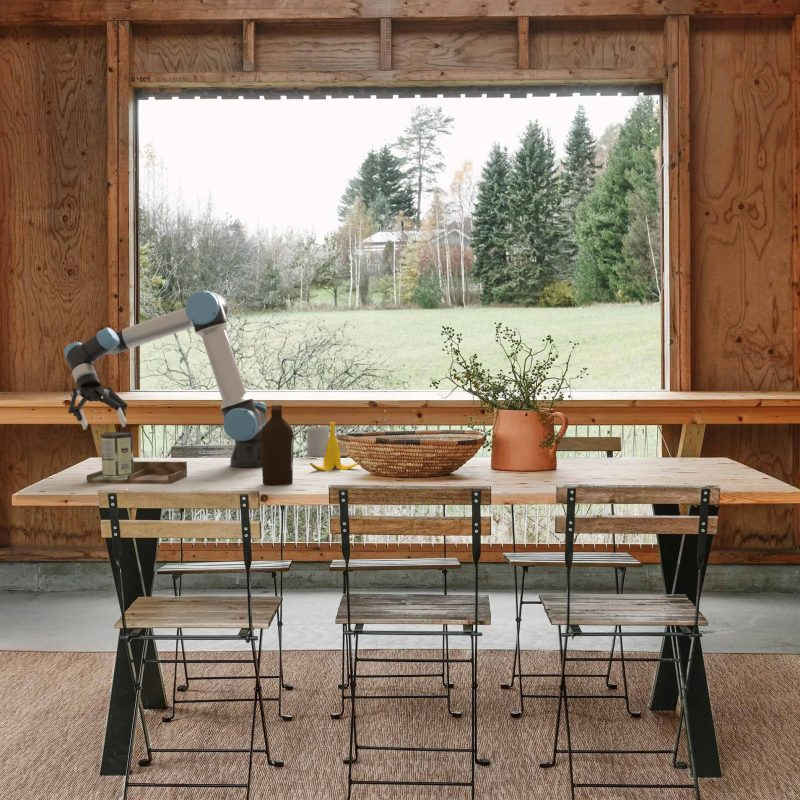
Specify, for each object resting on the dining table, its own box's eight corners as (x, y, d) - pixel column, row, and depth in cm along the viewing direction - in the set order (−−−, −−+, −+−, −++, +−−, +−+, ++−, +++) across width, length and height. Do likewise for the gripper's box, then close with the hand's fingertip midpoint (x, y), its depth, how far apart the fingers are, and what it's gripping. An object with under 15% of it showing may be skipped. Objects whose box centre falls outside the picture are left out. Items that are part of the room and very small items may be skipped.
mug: (323, 457, 379) (323, 429, 378) (303, 457, 382) (303, 428, 381) (336, 454, 390) (335, 426, 390) (316, 453, 393) (316, 426, 392)
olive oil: (264, 487, 305) (263, 406, 303) (257, 482, 315) (256, 404, 313) (298, 485, 308) (297, 405, 307) (290, 480, 318) (288, 403, 317)
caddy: (187, 476, 330) (186, 461, 330) (171, 483, 314) (171, 467, 314) (106, 475, 333) (106, 461, 332) (87, 482, 317) (86, 467, 316)
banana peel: (308, 472, 338) (308, 424, 337) (324, 465, 357) (323, 419, 356) (355, 473, 335) (355, 424, 334) (368, 466, 353) (368, 420, 352)
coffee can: (114, 473, 330) (112, 431, 330) (140, 474, 327) (139, 432, 326) (95, 477, 321) (93, 434, 320) (121, 478, 317) (120, 435, 316)
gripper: (117, 385, 350) (137, 430, 340) (48, 388, 334) (66, 435, 324) (123, 371, 346) (143, 416, 335) (53, 373, 330) (71, 420, 319)
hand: (105, 425), depth 329 cm, fingers open, 13 cm apart
